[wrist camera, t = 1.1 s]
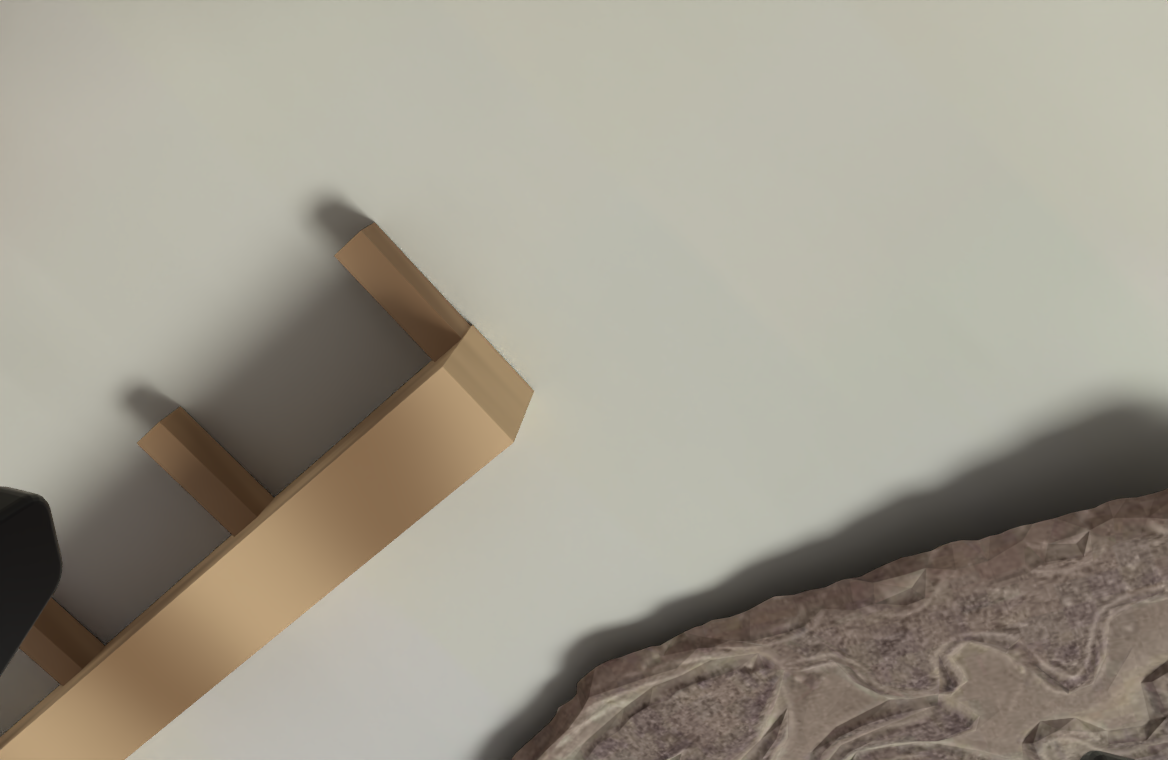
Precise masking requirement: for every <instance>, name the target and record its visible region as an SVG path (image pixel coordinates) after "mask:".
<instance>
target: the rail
mask: <svg viewBox="0 0 1168 760" xmlns="http://www.w3.org/2000/svg"><path fill="white" fill-rule="evenodd" d="M334 256H335V257H336V258H337V259H338V261H339V262H340V263H341V264H342V265H343V266H344V267H345V268H346V269H347V270H348V271H349V272H350V273H351V274H352V275H353V276H354V277H355V279H356V280H357V281H358V282H359V283H360V284H361V285H362V286H363V287H364V288H365V289H366V290H367V291H368V292H369V293H370V294H371V295H372V297H373V298H374V299H375V300H376V301H377V302H378V303H379V304H380V305H381V306H382V307H383V308H384V309H385V310H386V311H387V312H388V313H389V315H390V316H391V317H392V318H393V319H394V320H395V321H396V322H397V323H398V324H399V325H400V326H401V327H402V328H403V329H404V330H405V331H406V333H407V334H408V335H409V336H410V337H411V338H412V339H413V340H414V341H415V342H416V343H417V344H418V345H419V346H420V347H421V348H422V349H423V351H424V352H425V353H426V354H427V355H428V356H429V357H430V358H431V359H432V361H430V362H429V363H428V364H427V365H426V366H425V367H424V368H422V369H421V370H420V371H419V372H418V373H417V374H416V375H414V376H413V377H412V378H411V379H410V380H409V381H408V382H406V383H405V384H404V385H403V386H402V387H401V388H399V389H398V390H397V391H396V392H395V393H394V394H393V395H391V396H390V397H389V398H388V399H387V400H386V401H385V402H383V403H382V404H381V405H380V406H379V407H378V408H377V409H375V410H374V411H373V412H372V413H371V414H370V415H369V416H367V417H366V418H365V419H364V420H363V421H362V422H361V423H359V424H358V425H357V426H356V427H355V428H354V429H353V430H351V431H350V432H349V433H348V434H347V435H346V436H345V437H343V438H342V439H341V440H340V441H339V442H338V443H337V444H335V445H334V446H333V447H332V448H331V449H330V450H328V451H327V452H326V453H325V454H324V455H323V456H322V457H320V458H319V459H318V460H317V461H316V462H315V463H314V464H312V465H311V466H310V467H309V468H308V469H307V470H306V471H304V472H303V473H302V474H301V475H300V476H299V477H298V478H296V479H295V480H294V481H293V482H292V483H291V484H290V485H288V486H287V487H286V488H285V489H284V490H283V491H282V492H280V493H279V494H278V495H277V496H276V497H275V498H274V497H273V496H272V495H271V494H270V493H268V492H267V491H266V490H265V489H264V488H263V487H262V486H261V485H260V484H259V483H258V482H257V481H256V480H255V479H254V478H253V477H252V476H251V475H250V474H249V473H248V472H247V471H246V470H245V469H244V468H243V467H242V466H241V465H240V464H239V463H238V462H237V461H236V460H235V459H234V458H233V457H232V456H231V455H230V454H229V453H228V452H227V451H226V450H225V449H224V448H223V447H221V446H220V445H219V444H218V443H217V442H216V441H215V440H214V439H213V438H212V437H211V436H210V435H209V434H208V433H207V432H206V431H205V430H204V429H203V428H202V427H201V426H200V425H199V424H198V423H197V422H196V421H195V420H194V419H193V418H192V417H191V416H190V415H189V414H188V413H187V412H186V411H185V410H184V409H183V408H182V407H181V406H180V407H179V408H177V409H176V410H175V411H173V412H172V413H171V414H169V415H168V416H166V417H165V418H164V419H162V420H161V421H160V422H158V423H157V424H156V425H155V426H154V427H153V428H152V429H151V430H150V431H149V432H148V433H147V434H146V435H145V436H144V437H143V438H142V439H141V440H140V441H138V442H137V444H138V445H139V446H140V447H141V448H142V449H143V450H144V451H145V452H146V453H147V454H148V455H149V456H150V457H152V458H153V459H154V460H155V461H156V462H157V463H158V464H159V465H160V466H161V467H162V468H163V469H164V470H165V471H166V472H167V473H168V474H169V475H170V476H171V477H172V478H173V479H174V480H176V481H177V482H178V483H179V484H180V485H181V486H182V487H183V488H184V489H185V490H186V491H187V492H188V493H189V494H190V495H191V496H192V497H193V498H194V499H195V500H196V501H197V502H198V503H199V504H201V505H202V506H203V507H204V508H205V509H206V510H207V511H208V512H209V513H210V514H211V515H212V516H213V517H214V518H215V519H216V520H217V521H218V522H219V523H220V524H221V525H222V526H223V527H225V528H226V529H227V530H228V531H229V532H230V533H231V534H232V535H231V536H230V537H229V538H228V539H227V540H225V541H224V542H223V543H222V544H221V545H220V546H219V547H217V548H216V549H215V550H214V551H213V552H212V553H211V554H209V555H208V556H207V557H206V558H205V559H204V560H203V561H201V562H200V563H199V564H198V565H197V566H196V567H194V568H193V569H192V570H191V571H190V572H189V573H188V574H186V575H185V576H184V577H183V578H182V579H181V580H180V581H178V582H177V583H176V584H175V585H174V586H173V587H172V588H170V589H169V590H168V591H167V592H166V593H165V594H164V595H162V596H161V597H160V598H159V599H158V600H157V601H156V602H154V603H153V604H152V605H151V606H150V607H149V608H148V609H146V610H145V611H144V612H143V613H142V614H141V615H140V616H138V617H137V618H136V619H135V620H134V621H133V622H131V623H130V624H129V625H128V626H127V627H126V628H125V629H123V630H122V631H121V632H120V633H119V634H118V635H117V636H115V637H114V638H113V639H112V640H111V641H110V642H109V643H107V644H106V645H105V646H104V645H103V644H102V643H101V642H100V641H99V640H98V639H97V638H96V637H94V636H93V635H92V634H91V633H90V632H89V631H88V630H87V629H86V628H84V627H83V626H82V625H81V624H80V623H79V622H78V621H77V620H76V619H74V618H73V617H72V616H71V615H70V614H69V613H68V612H67V611H66V610H64V609H63V608H62V607H61V606H60V605H59V604H58V603H57V602H56V601H54V600H53V599H52V598H50V600H49V601H48V603H47V604H46V606H45V608H44V609H43V611H42V612H41V614H40V615H39V617H38V618H37V620H36V622H35V623H34V625H33V626H32V628H31V629H30V631H29V632H28V634H27V636H26V637H25V639H24V640H23V642H22V643H21V645H20V647H19V648H20V649H21V650H22V651H23V652H24V653H25V654H27V655H28V656H29V657H30V658H31V659H32V660H33V661H35V662H36V663H37V664H38V665H39V666H40V667H41V668H43V669H44V670H45V671H46V672H47V673H48V674H49V675H50V676H52V677H53V678H54V679H55V680H56V681H57V682H58V683H60V685H59V686H58V687H57V688H56V689H55V690H54V691H52V692H51V693H50V694H49V695H48V696H47V697H46V698H44V699H43V700H42V701H41V702H40V703H39V704H38V705H36V706H35V707H34V708H33V709H32V710H31V711H30V712H28V713H27V714H26V715H25V716H24V717H23V718H22V719H20V720H19V721H18V722H17V723H16V724H15V725H14V726H12V727H11V728H10V729H9V730H8V731H7V732H6V733H4V734H3V735H2V736H1V737H0V760H125V759H126V758H127V757H128V756H129V755H131V754H132V753H133V752H134V751H136V750H137V749H138V748H139V747H140V746H142V745H143V744H144V743H145V742H147V741H148V740H149V739H150V738H152V737H153V736H154V735H155V734H156V733H158V732H159V731H160V730H161V729H163V728H164V727H165V726H166V725H167V724H169V723H170V722H171V721H172V720H174V719H175V718H176V717H177V716H178V715H180V714H181V713H182V712H183V711H185V710H186V709H187V708H188V707H190V706H191V705H192V704H193V703H194V702H196V701H197V700H198V699H199V698H201V697H202V696H203V695H204V694H205V693H207V692H208V691H209V690H210V689H212V688H213V687H214V686H215V685H216V684H218V683H219V682H220V681H221V680H223V679H224V678H225V677H226V676H228V675H229V674H230V673H231V672H232V671H234V670H235V669H236V668H237V667H239V666H240V665H241V664H242V663H243V662H245V661H246V660H247V659H248V658H250V657H251V656H252V655H253V654H255V653H256V652H257V651H258V650H259V649H261V648H262V647H263V646H264V645H266V644H267V643H268V642H269V641H270V640H272V639H273V638H274V637H275V636H277V635H278V634H279V633H280V632H281V631H283V630H284V629H285V628H286V627H288V626H289V625H290V624H291V623H293V622H294V621H295V620H296V619H297V618H299V617H300V616H301V615H302V614H304V613H305V612H306V611H307V610H308V609H310V608H311V607H312V606H313V605H315V604H316V603H317V602H318V601H319V600H321V599H322V598H323V597H324V596H326V595H327V594H328V593H329V592H331V591H332V590H333V589H334V588H335V587H337V586H338V585H339V584H340V583H342V582H343V581H344V580H345V579H346V578H348V577H349V576H350V575H351V574H353V573H354V572H355V571H356V570H357V569H359V568H360V567H361V566H362V565H364V564H365V563H366V562H367V561H369V560H370V559H371V558H372V557H373V556H375V555H376V554H377V553H378V552H380V551H381V550H382V549H383V548H384V547H386V546H387V545H388V544H389V543H391V542H392V541H393V540H394V539H396V538H397V537H398V536H399V535H400V534H402V533H403V532H404V531H405V530H407V529H408V528H409V527H410V526H411V525H413V524H414V523H415V522H416V521H418V520H419V519H420V518H421V517H422V516H424V515H425V514H426V513H427V512H429V511H430V510H431V509H432V508H434V507H435V506H436V505H437V504H438V503H440V502H441V501H442V500H443V499H445V498H446V497H447V496H448V495H449V494H451V493H452V492H453V491H454V490H456V489H457V488H458V487H459V486H460V485H462V484H463V483H464V482H465V481H467V480H468V479H469V478H470V477H472V476H473V475H474V474H475V473H476V472H478V471H479V470H480V469H481V468H483V467H484V466H485V465H486V464H487V463H489V462H490V461H491V460H492V459H494V458H495V457H496V456H497V455H498V454H500V453H501V452H502V451H503V450H505V449H506V448H507V447H508V446H510V445H511V444H512V443H513V442H514V440H515V438H516V435H517V433H518V430H519V428H520V425H521V423H522V420H523V418H524V415H525V413H526V410H527V407H528V405H529V402H530V400H531V397H532V395H533V392H534V391H533V390H532V388H531V387H530V386H529V385H528V384H527V383H526V382H525V381H524V380H523V379H522V378H521V377H520V376H519V374H518V373H517V372H516V371H515V370H514V369H513V368H512V367H511V366H510V365H509V364H508V363H507V361H506V360H505V359H504V358H503V357H502V356H501V355H500V354H499V353H498V352H497V351H496V350H495V349H494V347H493V346H492V345H491V344H490V343H489V342H488V341H487V340H486V339H485V338H484V337H483V336H482V334H481V333H480V332H479V331H478V330H477V329H476V328H475V327H474V326H473V325H472V326H470V325H469V324H468V323H467V321H466V320H465V319H464V318H463V317H462V316H461V315H460V314H459V313H458V312H457V311H456V310H455V309H454V307H453V306H452V305H451V304H450V303H449V302H448V301H447V300H446V299H445V298H444V297H443V296H442V294H441V293H440V292H439V291H438V290H437V289H436V288H435V287H434V286H433V285H432V284H431V283H430V282H429V280H428V279H427V278H426V277H425V276H424V275H423V274H422V273H421V272H420V271H419V270H418V269H417V267H416V266H415V265H414V264H413V263H412V262H411V261H410V260H409V259H408V258H407V257H406V256H405V255H404V253H403V252H402V251H401V250H400V249H399V248H398V247H397V246H396V245H395V244H394V243H393V242H392V241H391V239H390V238H389V237H388V236H387V235H386V234H385V233H384V232H383V231H382V230H381V229H380V228H379V226H378V225H377V224H376V223H375V222H374V223H373V224H371V225H369V226H367V227H366V228H364V229H362V230H361V231H360V232H359V233H358V234H356V235H355V236H354V237H353V238H352V239H351V240H350V241H349V242H348V243H347V244H346V245H345V246H344V247H343V248H342V249H341V250H340V251H339V252H338V253H336V254H335V255H334Z"/></svg>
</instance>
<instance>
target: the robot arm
mask: <svg viewBox="0 0 1168 760" xmlns="http://www.w3.org/2000/svg"><path fill="white" fill-rule="evenodd" d="M61 573H62V557H61V553H60V549H59V544H58V540H57V536H56V531H55V527H54V523H53V518H52V514H51V510H50V507H49V504H48V503H47V501H46V500H45V499H44V498H43V497H42V496H40V495H38V494H35V493H30V492H26V491H22V490H18V489H14V488H10V487H1V486H0V676H1V675H2V673H3V671H4V670H5V668H6V667H7V665H8V664H9V662H10V661H11V659H12V657H13V656H14V654H15V653H16V651H17V650H18V648H19V647H20V645H21V643H22V642H23V640H24V639H25V637H26V636H27V634H28V632H29V631H30V629H31V628H32V626H33V625H34V623H35V622H36V620H37V618H38V617H39V615H40V614H41V612H42V611H43V609H44V608H45V606H46V604H47V603H48V601H49V600H50V598H51V597H52V595H53V593H54V592H55V590H56V588H57V586H58V583H59V581H60V578H61ZM1080 760H1135V759H1131V758H1127V757H1123V756H1119V755H1115V754H1110V753H1106V752H1102V751H1098V750H1093V751H1089V752H1087V753H1086V754H1084V755H1083V756H1082V757H1081V759H1080Z"/></svg>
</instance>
